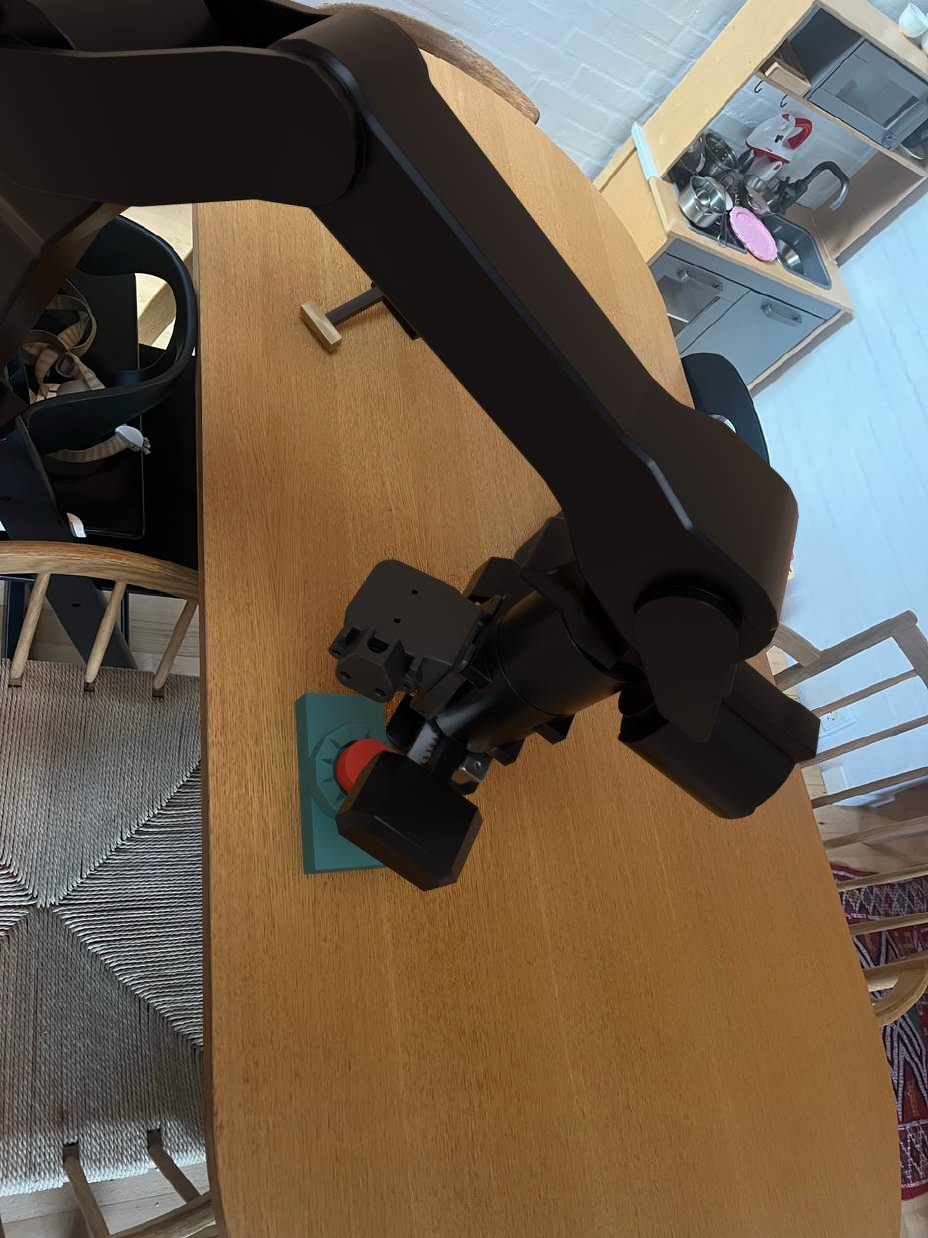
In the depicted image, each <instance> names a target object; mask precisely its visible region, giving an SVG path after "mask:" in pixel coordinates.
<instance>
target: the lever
mask: <svg viewBox="0 0 928 1238" xmlns="http://www.w3.org/2000/svg"><path fill="white" fill-rule="evenodd" d="M384 299H386V297H385V296H384V294H383V293H382V292H381V291H380V290H379V289H378V287H377V286H376V287H374V288H372V287H371V288H370V289H368V290H367V291H364V292H363V293H361V294H359V295H357V296H355V297H354V298H352V299H350V300H348V301H346V302H344V303H342V304H341V305H339V306H337V307H335V308H333V309H332V310H329V311H327V312H326V313H324V312H323V311H322V310H321V308H320V306H319V305H318V304H317V302H315V300H314V299H313V298H311V299H309V300H307V301H305V302H304V303H302V304H300V307H299V314H300V316H301V317H302V319H304V321H305V322H306V324H307V325H308V326H309V327H310V329H311V330H312V331H313V333H314V334H315V335H316V337H317V338H318V339H319V340H320V342H321V343H322V344H323V346H324V347H325V348H326V349H327V351H328V352H330V353H331V352H332V351H334V350H336V349H338V348H339V347H341V346H342V342H343V337H342V335H341V334H340V333H339V331H338V330H337V329H336V327H338V326H339V325H341V324H343V323H345V322H346V321H348V320H350V319H352V318H354V317H355V316H358V315H359V314H361V313H363V312H365V311H366V310H368V309H370V308H372V307H373V306H375V305H377V304H379V303H381V302H383V300H384Z"/></svg>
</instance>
